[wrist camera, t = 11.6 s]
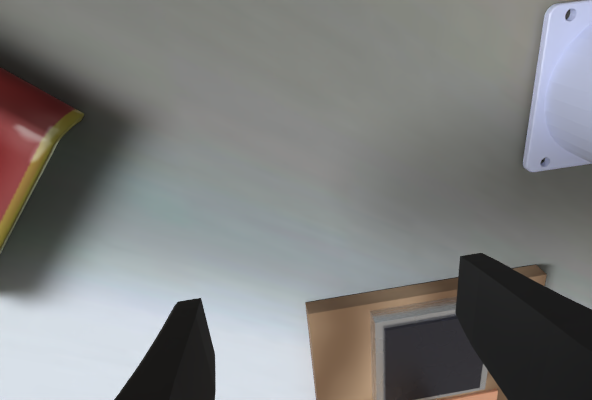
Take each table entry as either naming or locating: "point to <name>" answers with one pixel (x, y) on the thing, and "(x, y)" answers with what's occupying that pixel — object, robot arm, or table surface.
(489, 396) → the square coaster
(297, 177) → the table surface
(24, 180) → the hardcover book
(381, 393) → the ink pad
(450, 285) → the board
